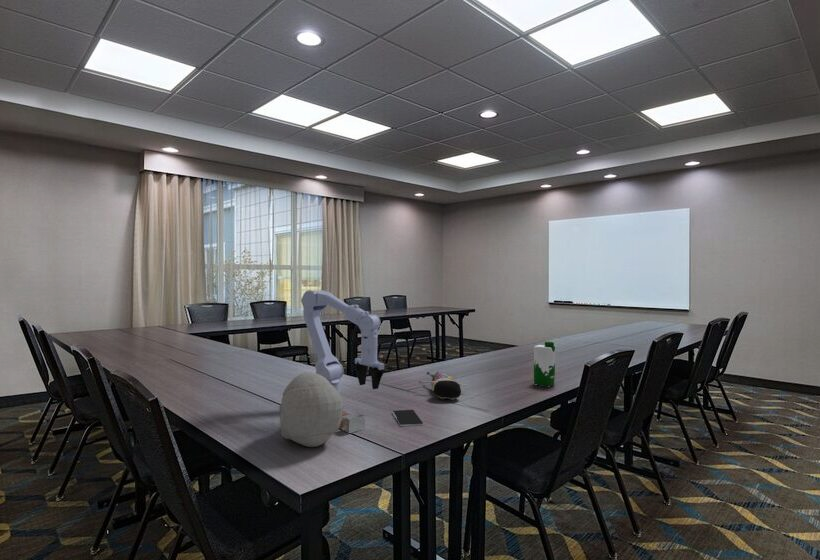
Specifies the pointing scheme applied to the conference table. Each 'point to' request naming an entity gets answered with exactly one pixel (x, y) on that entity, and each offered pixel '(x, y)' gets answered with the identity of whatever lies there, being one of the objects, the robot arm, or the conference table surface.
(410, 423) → the smartphone
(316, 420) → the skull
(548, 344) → the milk carton
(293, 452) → the conference table surface
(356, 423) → the grey rectangular block
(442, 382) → the toy
